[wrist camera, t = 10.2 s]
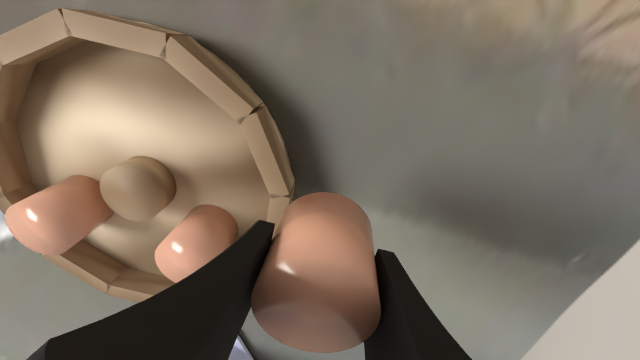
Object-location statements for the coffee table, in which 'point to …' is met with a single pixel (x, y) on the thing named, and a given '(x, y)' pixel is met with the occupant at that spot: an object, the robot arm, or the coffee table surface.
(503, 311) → the coffee table surface
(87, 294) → the coffee table surface
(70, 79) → the ring tray
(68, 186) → the bead
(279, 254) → the bead
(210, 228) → the bead
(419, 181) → the coffee table surface
